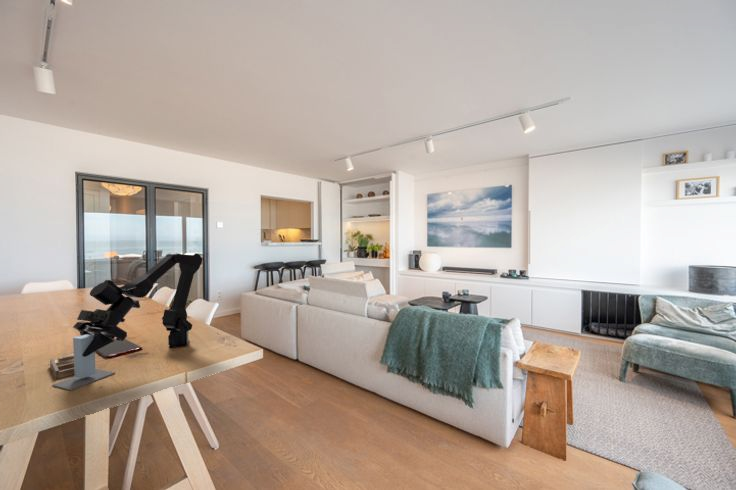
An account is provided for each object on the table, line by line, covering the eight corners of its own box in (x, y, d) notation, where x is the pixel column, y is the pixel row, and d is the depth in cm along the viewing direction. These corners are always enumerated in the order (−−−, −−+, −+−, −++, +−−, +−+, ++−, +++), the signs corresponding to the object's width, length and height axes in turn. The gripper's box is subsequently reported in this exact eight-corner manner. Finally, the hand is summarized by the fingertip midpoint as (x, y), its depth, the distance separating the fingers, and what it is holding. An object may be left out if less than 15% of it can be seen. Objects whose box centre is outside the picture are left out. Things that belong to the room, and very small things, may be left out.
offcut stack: (77, 361, 114) (76, 352, 114) (79, 364, 111) (78, 354, 111) (54, 366, 109) (53, 357, 109) (55, 369, 107) (55, 360, 107)
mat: (97, 369, 106) (97, 368, 106) (114, 373, 103) (114, 372, 103) (52, 385, 95) (52, 384, 95) (70, 390, 92) (70, 389, 92)
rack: (76, 360, 114) (76, 353, 114) (84, 371, 105) (83, 364, 105) (50, 366, 109) (50, 359, 109) (55, 378, 100) (55, 371, 100)
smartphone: (122, 336, 140) (143, 347, 125) (122, 339, 140) (143, 350, 125) (86, 344, 130) (105, 356, 115) (86, 347, 130) (105, 360, 115)
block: (87, 371, 101) (86, 334, 101) (95, 373, 100) (94, 335, 100) (74, 376, 98) (73, 337, 98) (82, 378, 97) (81, 338, 96)
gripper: (79, 297, 105) (37, 340, 95) (115, 301, 99) (75, 347, 89) (106, 314, 113) (69, 355, 103) (141, 319, 107) (106, 363, 97)
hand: (79, 355), depth 98 cm, fingers closed on block, 4 cm apart
